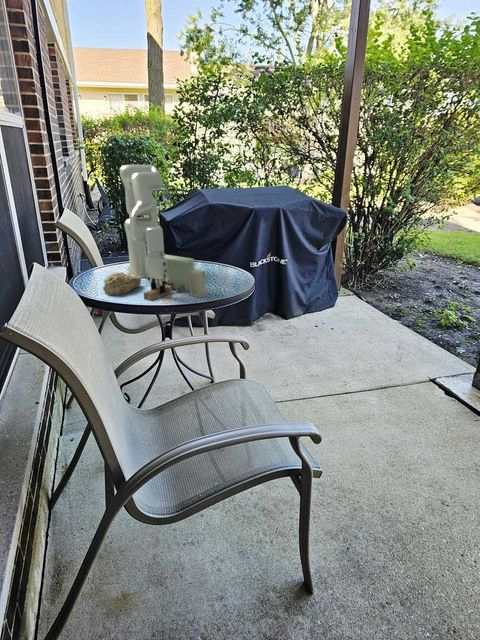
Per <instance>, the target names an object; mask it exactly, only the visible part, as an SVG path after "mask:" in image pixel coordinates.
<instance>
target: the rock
mask: <svg viewBox="0 0 480 640" xmlns="http://www.w3.org/2000/svg"><path fill="white" fill-rule="evenodd" d="M103 283H104V286H103V287H102V289H103V291H104V293H105V294H107V296H119V295H124V294H127V293H129V292H130V291H132V290H133V289H135V288H138V287H140V286H141V283H142V278H138V277H133V276H130V275H128V274H125V272H114V273H112V274H108V275H107V276H106V277H105V278H104V280H103Z"/></svg>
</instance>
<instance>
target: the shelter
mask: <svg viewBox="0 0 480 640" xmlns="http://www.w3.org/2000/svg"><path fill="white" fill-rule="evenodd" d="M164 257H165V258H166V261H167V265H168V273H169V278H170V280H169V281H168V282H167V283H166V285H169V286H172V289H176V293H177V294H178V293H180V292H183V291H187V292H191V286H190V271H192V270H195V258H191V257H185V256H184V257H183V256H178V255H173V254H172V255H170V254H165V256H164ZM162 282H163V280H162ZM155 283H156V286H157V288H158V287H159V286H161V285H160V282H159V279H156V280H155Z"/></svg>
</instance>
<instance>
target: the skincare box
mask: <svg viewBox="0 0 480 640" xmlns="http://www.w3.org/2000/svg"><path fill="white" fill-rule="evenodd" d="M205 273H206V272H205V270H201V269H200V270H199V269H194V270H192V271H190V286H191V291H190V296H192V297H195V298H199V299H200V298H204V297H206V296H207V292H206V274H205Z"/></svg>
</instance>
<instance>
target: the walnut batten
mask: <svg viewBox="0 0 480 640" xmlns="http://www.w3.org/2000/svg"><path fill="white" fill-rule="evenodd" d="M172 293H173V288H172V286H169V285H165V293H163V294H160V287H158V288H155V289H153V290H151V289H150V290H148V291H145V292H143V299H144V300H146V301H153V300H156V299H159V298H161V297H165V296H166V295H170V294H172Z"/></svg>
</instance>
